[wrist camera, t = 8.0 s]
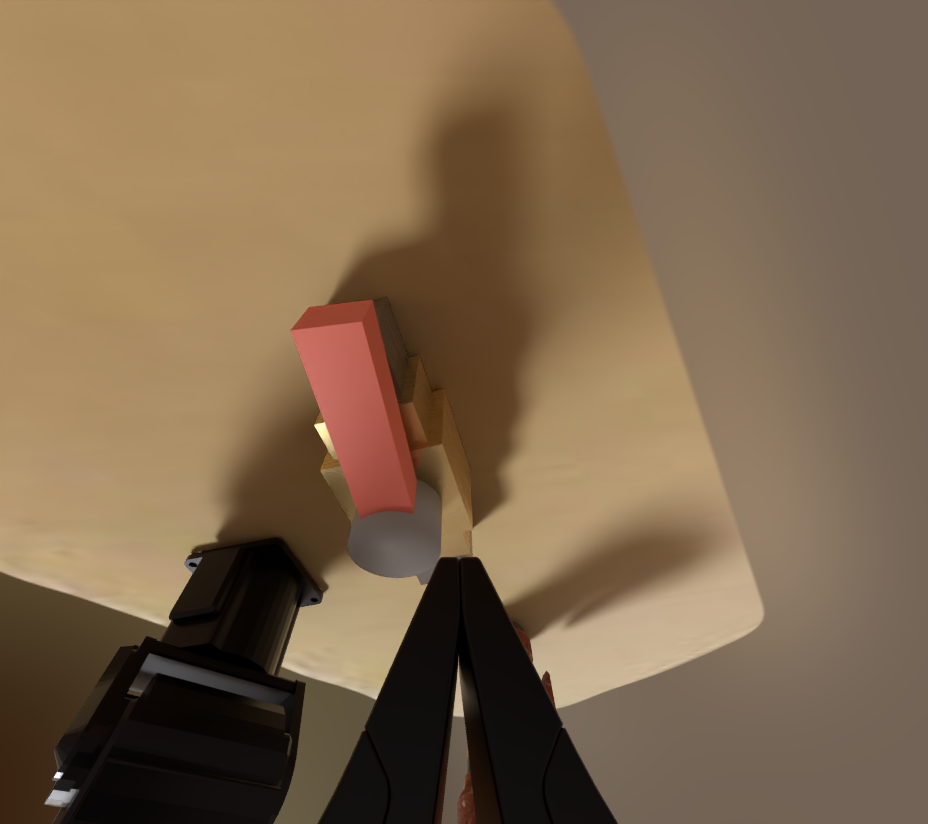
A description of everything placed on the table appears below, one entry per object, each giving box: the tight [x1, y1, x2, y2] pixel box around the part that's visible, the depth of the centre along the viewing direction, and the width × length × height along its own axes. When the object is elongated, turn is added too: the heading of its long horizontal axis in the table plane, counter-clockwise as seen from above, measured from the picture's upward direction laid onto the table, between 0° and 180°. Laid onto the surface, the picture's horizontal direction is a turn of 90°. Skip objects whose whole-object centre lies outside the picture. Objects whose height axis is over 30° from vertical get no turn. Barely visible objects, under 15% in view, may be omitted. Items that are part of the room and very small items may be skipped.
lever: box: [291, 300, 442, 578], centre depth 15 cm, size 11×4×2 cm, turn 7°
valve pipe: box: [314, 297, 473, 585], centre depth 20 cm, size 15×5×4 cm, turn 14°
